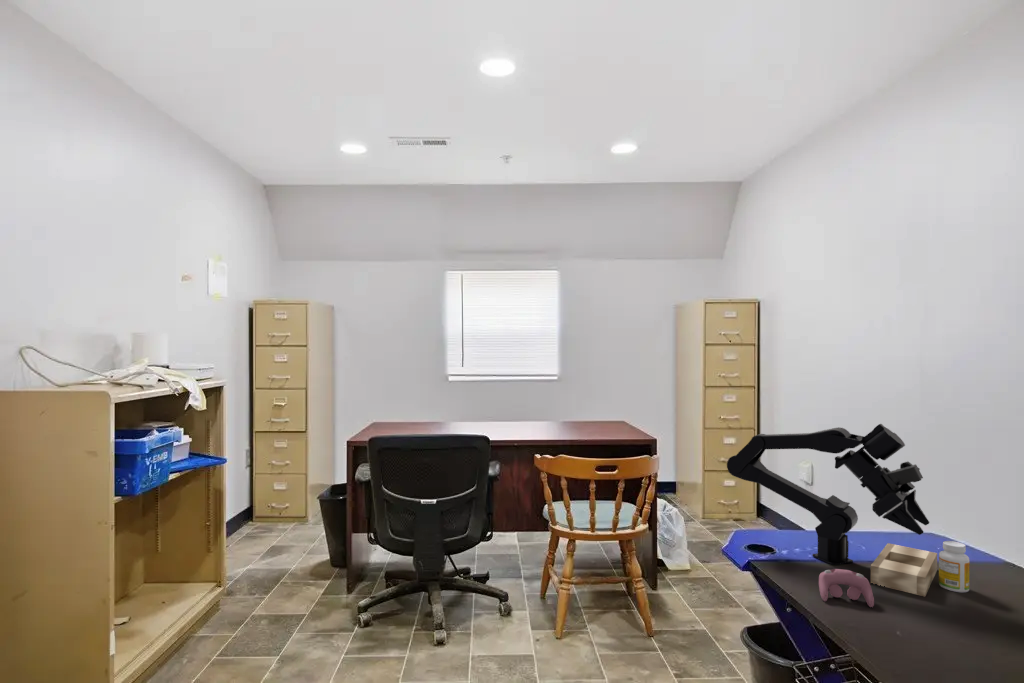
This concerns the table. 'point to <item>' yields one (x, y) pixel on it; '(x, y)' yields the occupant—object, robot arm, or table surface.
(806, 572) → the table surface
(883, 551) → the holder block
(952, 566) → the supplement bottle
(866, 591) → the video game controller
